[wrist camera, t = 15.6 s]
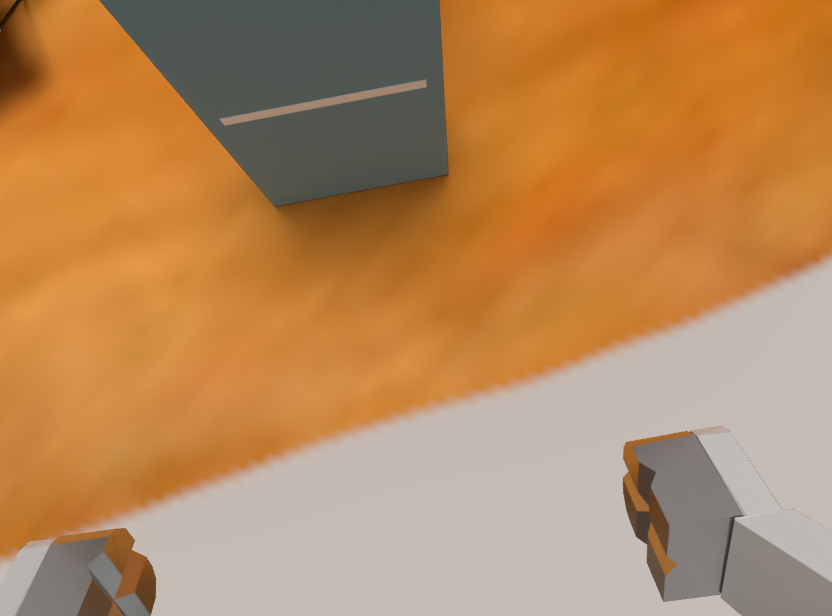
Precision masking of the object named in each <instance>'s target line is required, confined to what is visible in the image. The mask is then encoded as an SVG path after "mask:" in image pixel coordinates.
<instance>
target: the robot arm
mask: <svg viewBox="0 0 832 616" xmlns="http://www.w3.org/2000/svg"><path fill="white" fill-rule="evenodd" d="M623 459H624V462H625V464H626V466H627V468H628V470H629V472H628V473H627V474H626V475H625V476H624V477H623V494H624V499H625V505H626V510H627V513H628V516H629V519H630V522H631V525H632V527H633V530H634V532H635V535H636V537H637V538H639V539H640V540H642V541H643V542H644V543H646V544H647V564H648V566H649V569H650V571H651V574H652V576H653V578H654V581H655V582H656V585H657V588H658V590H659V592H660V595H661V597H662V599H663V602H665V601H674V600H681V599H689V598H696V597H705V596H712V595H720V594H721V598H722V599H723V600H724V601H725V602H727V603H728V604H729V605H730V606H731V607H733V608H734V609H735V610H736V611H737V612H738V613H739V614H741V615H742V616H832V530H830V529H828V528H826V527H824V526H823V525H821V524H819V523H818V522H816V521H814V520H813V519H811V518H809V517H807V516H806V515H804V514H802V513H800V512H798V511H797V510H795V509H788V510H783V509H782V507H781V506H780V505H779V503H778V501H777V500H776V498H775V497H774V495H773V494H772V493H771V491H770V489H769V488H768V487H767V485H766V484H765V482H764V481H763V479H762V478H761V476H760V475H759V473H758V472H757V470H756V469H755V467H754V466H753V464H752V463H751V461H750V460H749V458H748V457H747V456H746V454H745V453H744V451H743V450H742V448H741V447H740V445H739V444H738V443H737V441H736V439H735V438H734V436H733V435H732V433H731V432H730V430H729V429H727V428H725V427H724V426H717V427H711V428H705V429H699V430H694V431H690V432H687V431H685V432H679V433H674V434H669V435H663V436H657V437H652V438H647V439H641V440H635V441H629V442H626V443H625V446H624V452H623ZM134 541H135V540H134V539H133V537H132V536H131V535H130V533H129V532H128V531H127V530H126V528H120V529H111V530H104V531H97V532H90V533H82V534H75V535H68V536H61V537H56V538H49V539H43V540H36V541H30V542H29V543H28V544H26V545H25V546H24V547H23V548H22V549H21V550H20V551H19V553H18V555H17V557H16V558H15V560H14V562H13V564H12V566H11V568H10V570H9V572H8V573H7V575H6V577H5V579H4V581H3V583H2V585H1V587H0V616H150V615H151V613H152V609H153V605H154V602H155V598H156V577H155V574H154V570H153V567H152V565H151V563H150V562H149V560H148V559H147V557H145V556H143V555H141V554H139V553H137V552H135V551H133V550H132V547H133V544H134Z"/></svg>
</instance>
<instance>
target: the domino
mask: <svg viewBox="0 0 832 616" xmlns="http://www.w3.org/2000/svg"><path fill="white" fill-rule="evenodd" d="M100 2H101V3H102V4H103V5H104V6H105V7H106V9H107V10H108V11H109V12H110V13H111V15H112V16H113V17H114V18H115V19H116V20H117V22H118V23H119V24H120V25H121V26H122V28H123V29H124V30H125V31H126V32H127V33H128V35H129V36H130V37H131V38H132V39H133V40H134V42H135V43H136V44H137V45H138V46H139V48H140V49H141V50H142V51H143V52H144V53H145V55H146V56H147V57H148V58H149V59H150V61H151V62H152V63H153V64H154V65H155V66H156V68H157V69H158V70H159V71H160V72H161V73H162V75H163V76H164V77H165V78H166V79H167V81H168V82H169V83H170V84H171V85H172V86H173V88H174V89H175V90H176V91H177V92H178V94H179V95H180V96H181V97H182V98H183V99H184V101H185V102H186V103H187V104H188V105H189V106H190V108H191V109H192V110H193V111H194V112H195V114H196V115H197V116H198V117H199V118H200V119H201V121H202V122H203V123H204V124H205V125H206V127H207V128H208V129H209V130H210V131H211V132H212V134H213V135H214V136H215V137H216V138H217V139H218V141H219V142H220V143H221V144H222V145H223V147H224V148H225V149H226V150H227V151H228V152H229V154H230V155H231V156H232V157H233V158H234V160H235V161H236V162H237V163H238V164H239V165H240V167H241V168H242V169H243V170H244V171H245V172H246V174H247V175H248V176H249V177H250V178H251V180H252V181H253V182H254V183H255V184H256V185H257V187H258V188H259V189H260V190H261V191H262V192H263V194H264V195H265V196H266V197H267V198H268V200H269V201H270V202H271V203H272V204H273V205H274V207H275V206H280V205H286V204H291V203H296V202H302V201H307V200H313V199H318V198H323V197H329V196H334V195H340V194H345V193H351V192H356V191H361V190H367V189H372V188H378V187H383V186H388V185H394V184H399V183H405V182H410V181H415V180H421V179H426V178H432V177H437V176H443V175H448V174H449V173H448V154H447V136H446V117H445V98H444V79H443V60H442V41H441V23H440V4H439V0H100Z"/></svg>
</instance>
